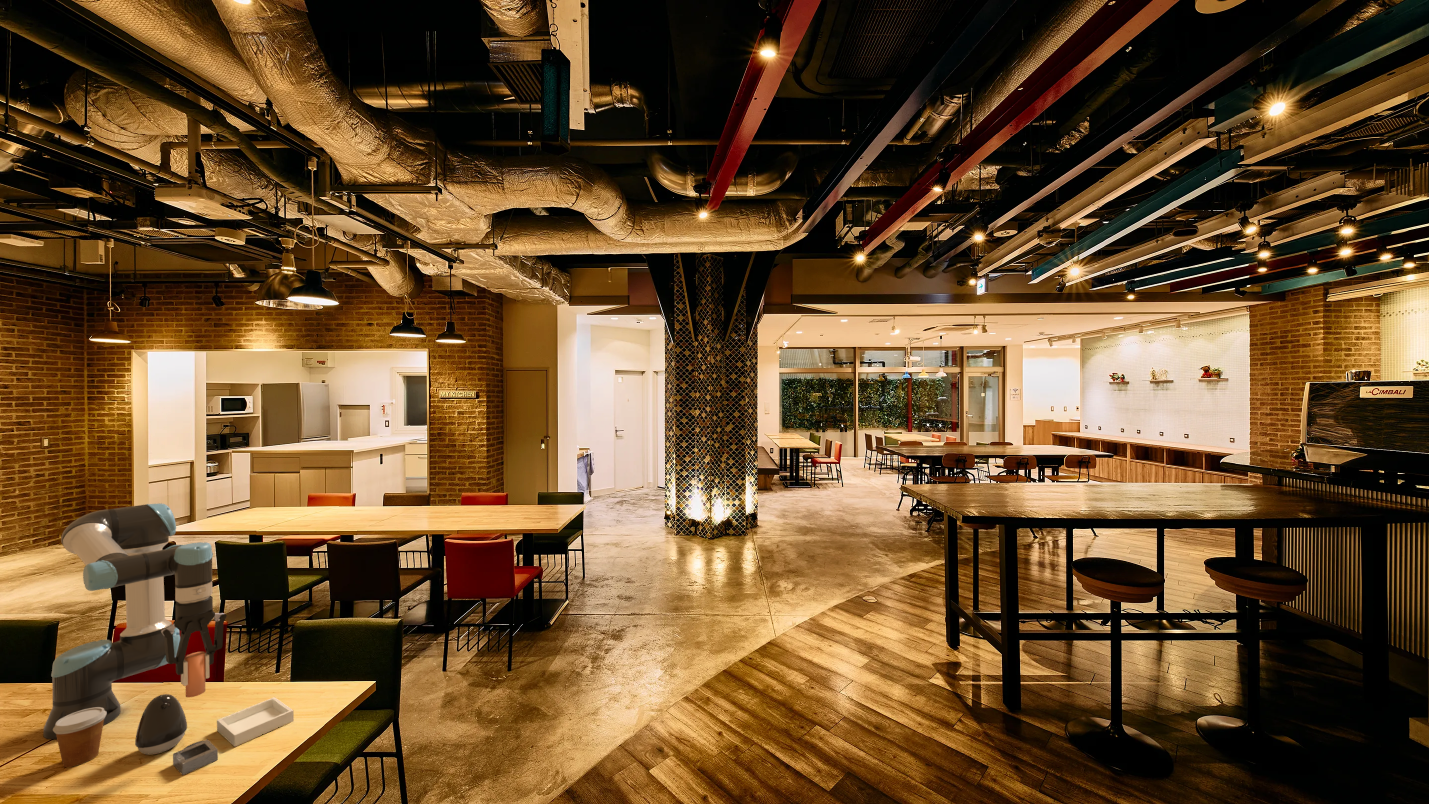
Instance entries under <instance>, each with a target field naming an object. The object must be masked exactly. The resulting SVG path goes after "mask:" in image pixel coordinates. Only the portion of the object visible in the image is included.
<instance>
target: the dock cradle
mask: <svg viewBox="0 0 1429 804" xmlns="http://www.w3.org/2000/svg"><path fill="white" fill-rule="evenodd" d="M294 718H295V717H294V709H292V708H291V707H290V706H288V705H287V704H285V703H284V702H283V701H281V700H280V699H278V698H277V697H275V696H273V697H270V698H268V699H265V700H263V701H261V702H258V703H256V704H253V705H250V706H247V707H246V708H244V709H243V708H242V709H241V710H239V711H236V712H233V713H231V714H229V715H226V716H223V717H221V718H218V719H217V720H216V731H217V732H218V733H219V734H220V735H221V736H222V737H223V738H225V739H226V740H227V742H229V743H230V744H231V745H232V747H235V748H236V747H237V746H240V745H242V744H244V743H246V742H249V741H252V740H253V739H257V738H258V737H260V736H262V734H263V735H264V734H267V733H270V732H271V731H274V730H276V729H278V727H279V728H280V727H283V726H285V725H288V724H290V723H292V722H294Z"/></svg>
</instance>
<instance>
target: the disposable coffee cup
mask: <svg viewBox="0 0 1429 804" xmlns="http://www.w3.org/2000/svg"><path fill="white" fill-rule="evenodd" d="M106 715H107V712H106V711H105V710H104V708H101V707H95V708H89V709H84V710H81V711H77V712H74V713H72V714H69V715H67V716H65V717H63V718H61V719H60V720H58V721H57V722H56V724H55V727H54V728H53V731H54V732H55V733H56V736H57V739H56V740H57V745H58V749H59V754H60V758H61V762H62V766H63V767H65V768H72V767H76V766H79V765H83V764H85V763H88V762H89V761H91V760H93V759H95V758H96V757H97V756H98V755H99V751H100V744H101V740H102V735H103V734H102V733H103V728H104V725H103V722H104V718H105V716H106Z"/></svg>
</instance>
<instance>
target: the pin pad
mask: <svg viewBox="0 0 1429 804" xmlns="http://www.w3.org/2000/svg"><path fill="white" fill-rule="evenodd" d="M205 740H206V739H205ZM205 740H200V741H196V742H194V743H190V744H189V745H187V746H184V748H183V749H186V748H188V747H190V746H193V745H195V744H198V743H200V742H202V741H205Z"/></svg>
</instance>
